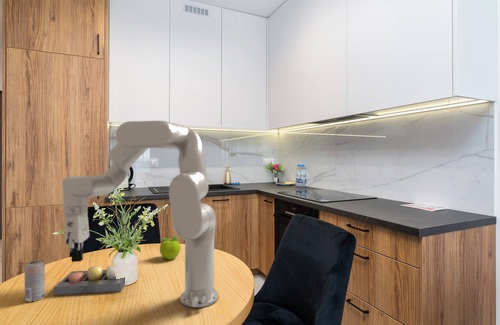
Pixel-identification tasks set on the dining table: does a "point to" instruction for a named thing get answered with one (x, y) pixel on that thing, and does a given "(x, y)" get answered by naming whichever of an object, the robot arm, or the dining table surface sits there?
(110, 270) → the ivory button
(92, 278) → the mustard button
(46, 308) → the dining table surface
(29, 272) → the energy drink
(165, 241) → the fruit
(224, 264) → the dining table surface
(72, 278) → the brick button
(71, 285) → the grey compartment tray
